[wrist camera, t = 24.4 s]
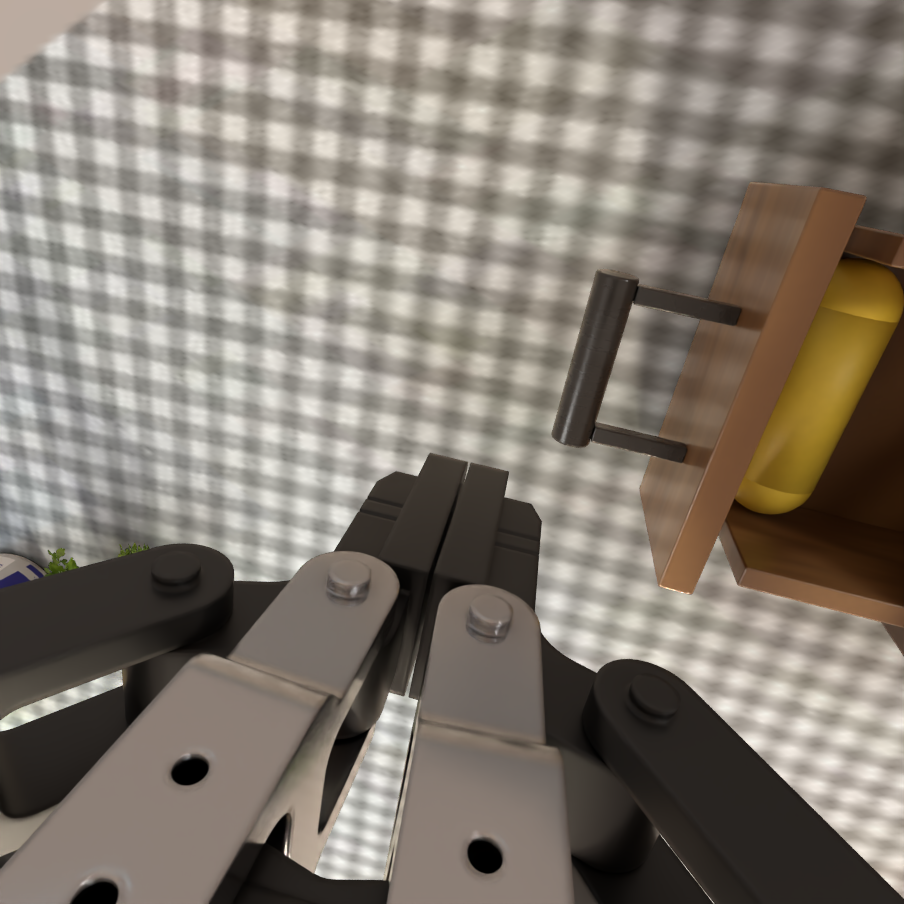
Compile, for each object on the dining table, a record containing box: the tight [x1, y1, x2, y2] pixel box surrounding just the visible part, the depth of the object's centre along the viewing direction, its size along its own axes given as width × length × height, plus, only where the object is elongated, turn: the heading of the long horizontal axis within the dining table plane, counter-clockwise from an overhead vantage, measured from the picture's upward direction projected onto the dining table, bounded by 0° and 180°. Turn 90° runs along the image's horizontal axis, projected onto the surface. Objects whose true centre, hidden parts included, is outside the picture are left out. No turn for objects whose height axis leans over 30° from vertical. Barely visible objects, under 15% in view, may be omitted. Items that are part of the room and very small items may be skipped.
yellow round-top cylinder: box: [734, 258, 904, 514], centre depth 22 cm, size 10×3×3 cm, turn 170°
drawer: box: [552, 182, 904, 628], centre depth 21 cm, size 19×13×7 cm
